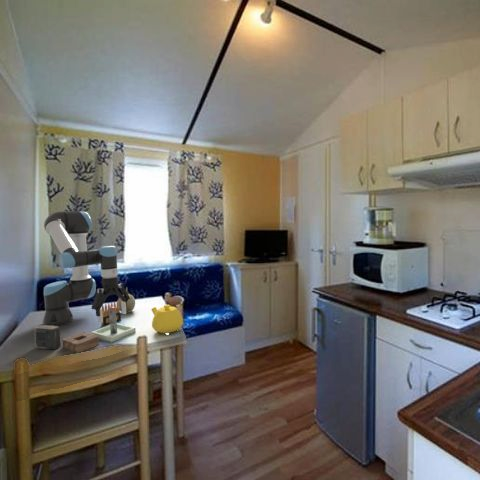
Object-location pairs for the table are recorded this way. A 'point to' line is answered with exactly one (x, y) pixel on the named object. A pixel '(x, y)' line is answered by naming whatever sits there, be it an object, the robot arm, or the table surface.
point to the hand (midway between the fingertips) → (112, 317)
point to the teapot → (166, 319)
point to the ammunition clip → (106, 313)
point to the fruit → (128, 303)
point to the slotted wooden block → (80, 342)
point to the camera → (47, 337)
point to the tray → (121, 333)
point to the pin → (112, 320)
